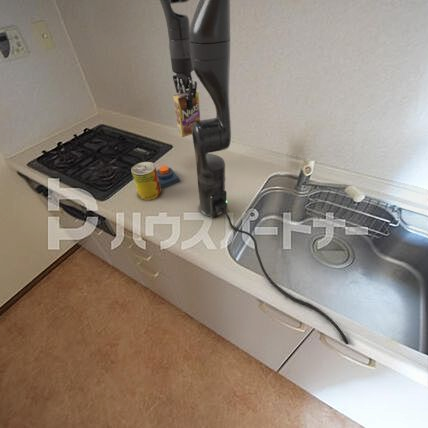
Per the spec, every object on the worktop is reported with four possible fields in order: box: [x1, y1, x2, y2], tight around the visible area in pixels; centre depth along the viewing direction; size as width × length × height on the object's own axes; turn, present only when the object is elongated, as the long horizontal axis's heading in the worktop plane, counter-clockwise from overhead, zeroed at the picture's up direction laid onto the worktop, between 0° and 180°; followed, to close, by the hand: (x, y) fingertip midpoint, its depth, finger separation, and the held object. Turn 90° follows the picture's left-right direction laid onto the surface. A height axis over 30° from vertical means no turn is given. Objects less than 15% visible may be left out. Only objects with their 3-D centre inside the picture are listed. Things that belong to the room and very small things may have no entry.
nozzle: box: [158, 165, 170, 175], centre depth 100 cm, size 4×4×2 cm
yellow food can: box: [130, 160, 162, 201], centre depth 93 cm, size 9×9×12 cm
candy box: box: [173, 91, 201, 138], centre depth 93 cm, size 9×4×15 cm, turn 123°
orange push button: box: [156, 167, 180, 189], centre depth 102 cm, size 10×8×4 cm
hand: (187, 107), depth 91 cm, fingers closed on candy box, 4 cm apart
